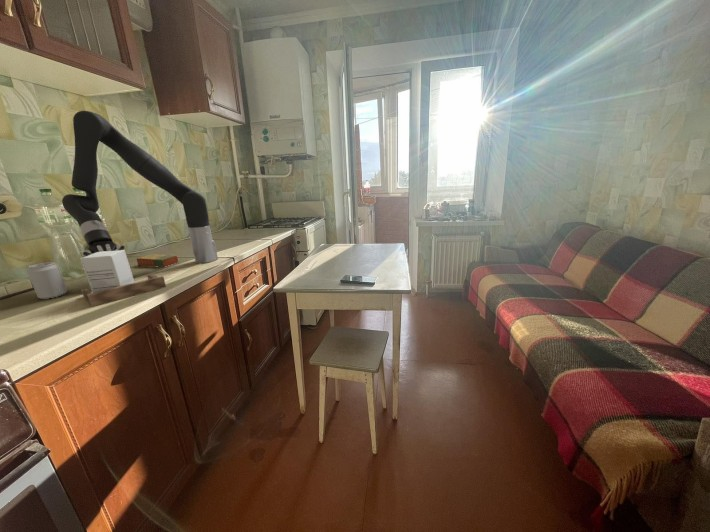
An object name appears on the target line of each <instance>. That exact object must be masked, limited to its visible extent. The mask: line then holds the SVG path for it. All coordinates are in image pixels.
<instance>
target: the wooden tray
mask: <svg viewBox="0 0 710 532" xmlns="http://www.w3.org/2000/svg"><path fill="white" fill-rule="evenodd" d="M146 277H147V279H144V280H143V279H142V280H140V281H136V282H135V281H134V282H135V283H131V284H127V285H123V286H119V287H115V288H111V289H107V290H103V291H99V292H95V293H92V291H90V290H89V288H84V289H80V290H81V293H82V296H83V297H85V298H84V299H85V300H86V301H87V302H89V303H88V304H89V305H90V307H92V308H94V307H97V306H101V305H105V304H108V303H112V302H115V300H116V301H119V300H123V299H126V298H130V297H134V296H136V295H140V294H145V293H148V292H152V291H155V290H158V289H163V288H166V287H167V284H166V282H165V277H164V276H163V275H161V276H157V275H155V274H153V273H148V274H146ZM162 287H163V288H162ZM111 301H112V302H111ZM104 303H105V304H104ZM100 304H101V305H100ZM96 305H97V306H96ZM93 306H94V307H93Z"/></svg>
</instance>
